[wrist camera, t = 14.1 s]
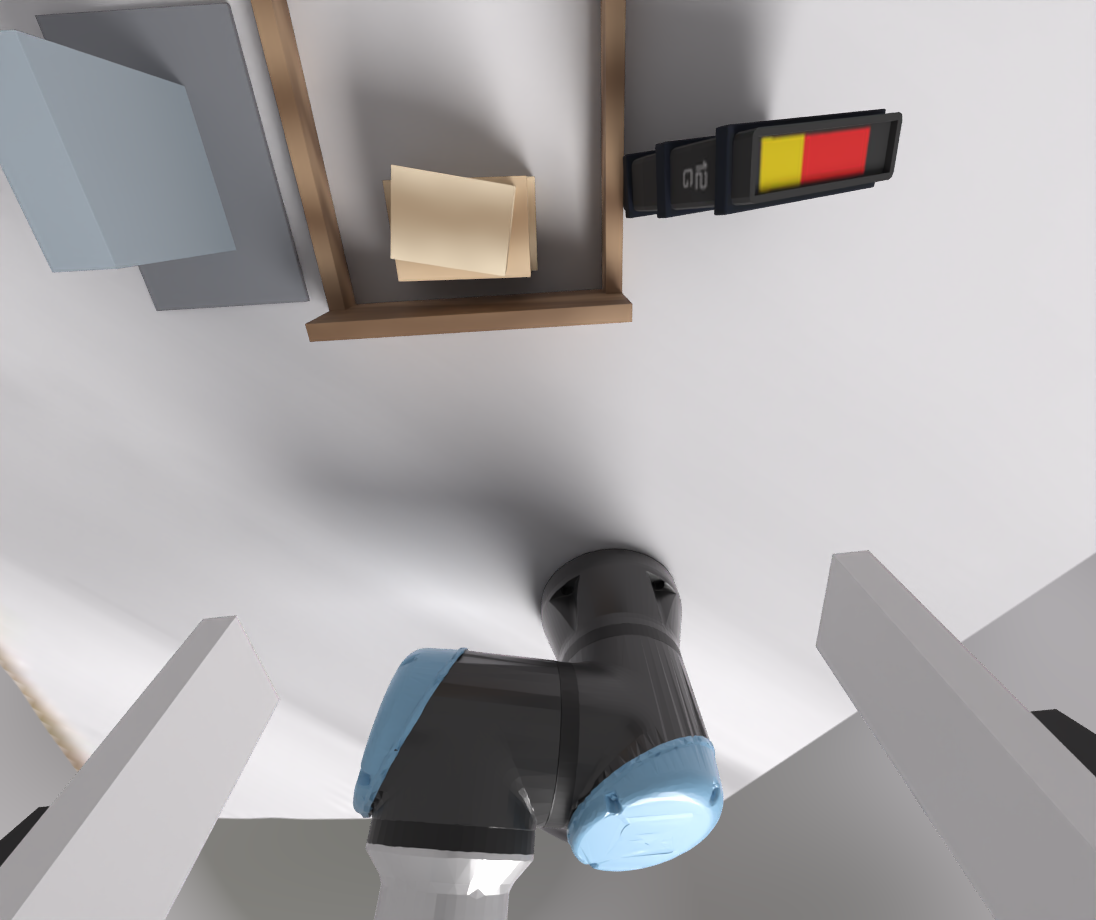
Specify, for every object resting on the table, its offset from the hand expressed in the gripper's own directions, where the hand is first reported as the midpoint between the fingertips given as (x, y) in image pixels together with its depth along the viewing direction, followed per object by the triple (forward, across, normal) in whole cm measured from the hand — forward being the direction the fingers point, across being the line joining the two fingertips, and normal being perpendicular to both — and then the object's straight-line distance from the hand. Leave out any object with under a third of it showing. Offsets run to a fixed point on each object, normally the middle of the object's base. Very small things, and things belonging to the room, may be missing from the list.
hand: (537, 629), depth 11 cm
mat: (+33, +23, -14) cm, 43 cm away
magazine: (+33, -14, -10) cm, 37 cm away
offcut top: (+27, +4, -9) cm, 29 cm away
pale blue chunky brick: (+33, +23, -14) cm, 42 cm away
